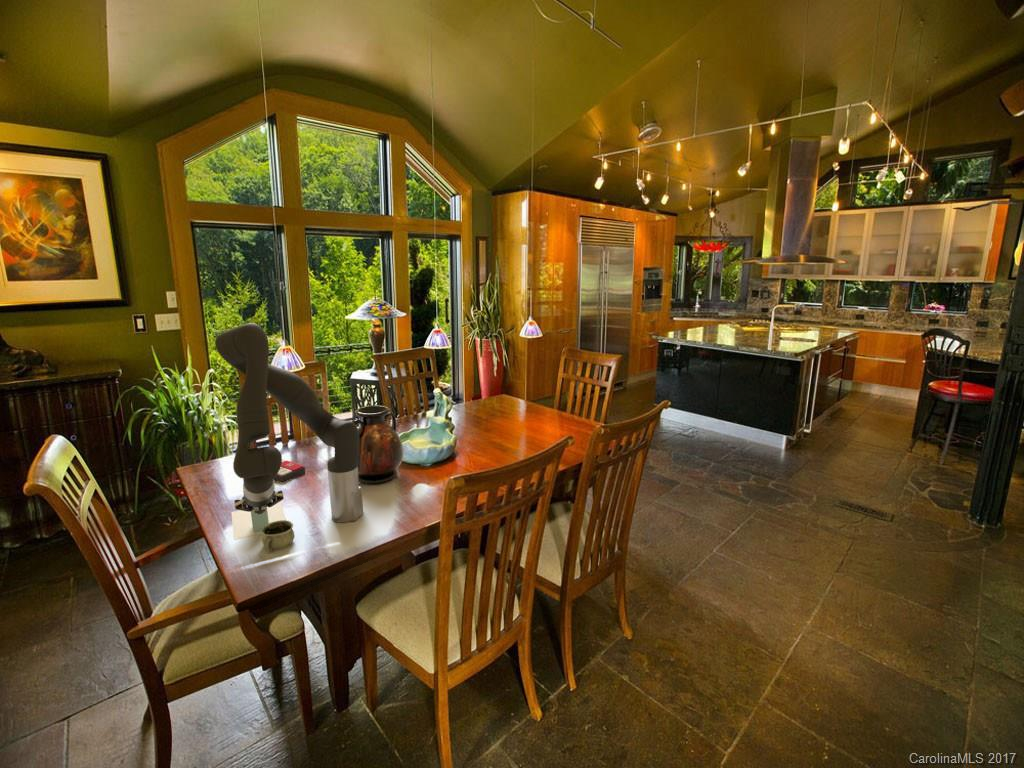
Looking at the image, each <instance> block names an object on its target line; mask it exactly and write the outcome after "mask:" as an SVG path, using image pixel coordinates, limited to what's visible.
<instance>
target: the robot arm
mask: <svg viewBox="0 0 1024 768" xmlns="http://www.w3.org/2000/svg"><path fill="white" fill-rule="evenodd" d="M214 342H215V343H214V344H215V349H216V351H217V353H218V354H219V355H220V357H221V358H222V359H223V361H225V362H226V363H228V364H229V365H230V366H231V367H233V368H234V369H235V370H237V371H239V373H242V374H243V375H244V380H243V384H242V387H241V389H240V392H239V395H238V399H237V401H236V410H235V412H236V419H237V420H236V422H237V429H238V430H237V433H238V434H237V436H238V437H237V439H238V440H237V445H236V449H235V450H236V451H235V455H234V458H233V465H232V466H233V467H232V468H233V472H234V473H235V475H236V476H237V477H238V478H240V479H242V481H243V482H242V483H243V484H242V490H243V491H242V492H243V496H242V498H241V499H235V500H234V509H235V511H239V510H242V511H247V512H251V511H252V510H254V511H255V513H258V514H262V513H263V512H264V511H265V509H266V507H267V506H268V507H272V506H274V505H275V504H277V503H278V502H282V501H283V500H284V493H283V490H279V491H277V492H276V490H275V489H276V487H275V485H276V484H275V481H274V479H273V478H274V477H275V476H276V475H277V473H278V472H279V470H280V467H281V464H282V459H283V458H282V454H281V451H280V450H279V449H278V448H276V447H275V446H272V445H271V446H270V445H268V446H261V447H260V446H259V447H254V448H249V446H250V445H252V443H253V442H256V441H259V440H262V439H264V438H267V437H268V436H269V435H270V432H271V428H270V425H271V424H270V418H269V411H268V399H267V398H268V397H267V394H269V395H270V396H271V397H272V398H274V400H275V401H277V402H278V403H279V404H280V405H281V406H282V407H284V408H285V409H286V410H287V411H288V412H290V413H291V414H292V415H293V416H295V418H297V419H298V420H300V421H301V422H303V423H304V424H305V425H307V427H309V429H311V431H312V432H313V433H314V435H316V437H317V438H318V439H319V440H320V441H321V442H322V443H323V444H325V445H326V446H327V447H330V448H333V449H334V456H332V457H331V458H329V459H328V460H327V464H326V465H327V474H328V476H327V477H328V489H329V500H330V512H331V519H332V520H333V521H334V522H336V523H349V522H356V521H357V520H358V519H359V518H360V517H361V516H362V515H363V513H364V503H363V502H364V501H363V487H362V486H360V483H359V479H358V464H357V462H358V459H359V432H358V426H357V424H356V425H355V424H354V423H352V422H353V421H349V420H345V419H341V418H338V417H337V416H334V415H333V414H332V413H330V412H329V411H328V410H326V409H325V408H324V406H323V405H322V404H321V402H320V399H319V397H318V395H317V392H316V391H315V390H314V389H313V387H312V386H311V385H310V384H309V383H308V382H307V381H305V379H303V378H302V377H301V376H299V375H298V374H297V373H295V372H294V373H293V372H291V371H289V370H287V369H284V368H281V367H278V366H275V365H273V364H271V363H269V358H270V357H269V356H270V349H269V348H270V344H269V338H268V335H267V333H266V332H265V330H264V329H263V328H262V327H261V326H260V325H258V324H257V323H254V322H253V323H252V322H248V323H244V324H241V325H239V326H236V327H233V328H231V329H229V330H225V331H223V332H221V333H219V334H218V335H217V336H216V338H215V340H214Z"/></svg>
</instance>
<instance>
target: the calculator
mask: <svg viewBox="0 0 1024 768" xmlns="http://www.w3.org/2000/svg"><path fill="white" fill-rule="evenodd" d="M304 473H305V474H306V467H305V466H304V465H302V464H299V463H296V462H293V461H290V460H285V459H283V458H282V464H281V467H280V470H279V472H278V473H277V475H276V476H275V477H274V478H273V479H274V480H275V481H274V482H277V481H278V482H277V483H280V482H281V483H280V484H283V482H284V483H286V482H288V481H290V479H291V480H293V479H296V478H297V476H298V477H300V476H301V475H305V474H304ZM299 475H300V476H299ZM287 480H288V481H287ZM285 481H286V482H285Z"/></svg>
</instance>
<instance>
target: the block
mask: <svg viewBox="0 0 1024 768" xmlns="http://www.w3.org/2000/svg"><path fill="white" fill-rule="evenodd" d="M251 518H252V526H253V532H254V533H256V532H260V531H261V529H262V527H264V526H265V525H267V524H269V521H268V513H267V507H266V509H265V511H264V512H263V513H262V514H258V513H255V511H254V510H252V511H251Z"/></svg>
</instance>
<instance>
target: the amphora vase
mask: <svg viewBox="0 0 1024 768" xmlns="http://www.w3.org/2000/svg"><path fill="white" fill-rule="evenodd" d="M354 413H355V415H356V416H357V417H359V418H361V420H360V419H354V420H352V421H351V422H352V423H354V424H355V425H356V426H357V424H359V426H357V428H358V432H359V459H358V462H357V464H358V479H359V484H362V485H365V486H378V485H379V484H380V485H384V484H387V483H390V482H392V481H394V480H395V479H396V478H397V477H398V474H399V471H398V468H399V467H400V466H401V463H402V462H403V459H404V453H405V452H404V445H403V441H402V439H401V437H400V436H399V435H400V434H399V435H398V433H397V419H396V415H395V414H394V413H393V412H391V409H390V407H388V406H385V405H367V406H366V405H365V406H362V407H359V408H357V409H356V410H355V412H354ZM389 417H390V418H391V419H390V420H391V426H390V424H389V423H388V422H387V421H388V418H389Z"/></svg>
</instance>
